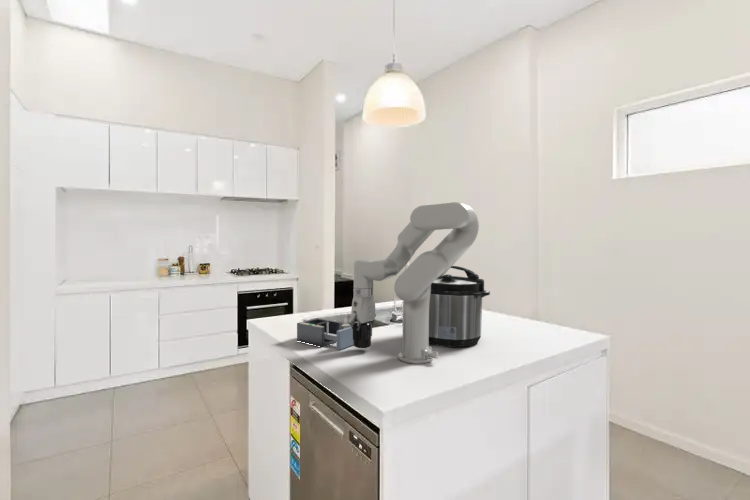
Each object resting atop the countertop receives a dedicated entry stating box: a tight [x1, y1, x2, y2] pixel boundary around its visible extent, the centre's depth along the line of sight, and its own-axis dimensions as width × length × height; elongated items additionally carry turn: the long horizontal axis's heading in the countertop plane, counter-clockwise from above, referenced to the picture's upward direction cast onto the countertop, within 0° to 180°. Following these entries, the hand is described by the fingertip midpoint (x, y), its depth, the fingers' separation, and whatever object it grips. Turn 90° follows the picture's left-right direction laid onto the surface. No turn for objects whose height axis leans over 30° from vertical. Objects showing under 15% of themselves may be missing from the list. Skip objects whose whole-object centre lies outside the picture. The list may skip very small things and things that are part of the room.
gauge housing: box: [296, 317, 343, 348], centre depth 162 cm, size 14×12×8 cm
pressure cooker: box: [429, 265, 491, 348], centre depth 166 cm, size 30×28×32 cm
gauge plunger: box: [315, 321, 354, 351], centre depth 156 cm, size 13×12×9 cm
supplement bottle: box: [352, 320, 373, 349], centre depth 149 cm, size 7×7×12 cm
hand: (362, 337), depth 149 cm, fingers closed on supplement bottle, 6 cm apart
